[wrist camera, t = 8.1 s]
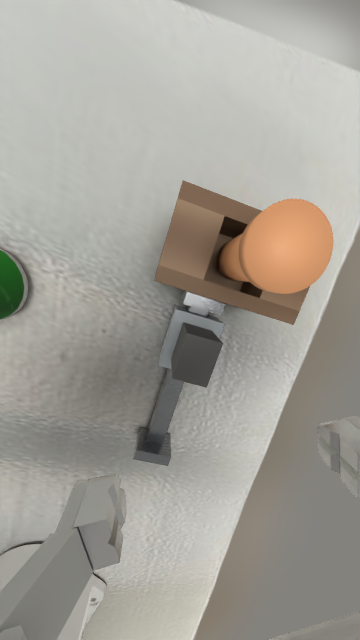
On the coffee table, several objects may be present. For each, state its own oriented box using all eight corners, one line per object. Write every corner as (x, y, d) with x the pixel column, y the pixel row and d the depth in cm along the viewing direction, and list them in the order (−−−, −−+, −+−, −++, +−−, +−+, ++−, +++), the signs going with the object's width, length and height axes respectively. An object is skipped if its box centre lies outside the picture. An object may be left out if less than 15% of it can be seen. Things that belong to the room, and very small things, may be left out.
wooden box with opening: (241, 305, 24) (293, 324, 14) (158, 278, 23) (154, 280, 13) (260, 254, 23) (330, 237, 13) (175, 223, 22) (182, 180, 12)
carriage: (199, 364, 25) (213, 400, 18) (159, 353, 24) (156, 386, 17) (216, 317, 24) (238, 335, 17) (174, 304, 23) (179, 317, 16)
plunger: (250, 293, 15) (310, 304, 9) (204, 277, 15) (232, 278, 8) (269, 242, 14) (348, 217, 8) (221, 225, 14) (266, 184, 8)
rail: (167, 441, 27) (167, 465, 24) (137, 435, 27) (133, 459, 23) (216, 300, 24) (225, 304, 20) (183, 289, 23) (187, 291, 20)
